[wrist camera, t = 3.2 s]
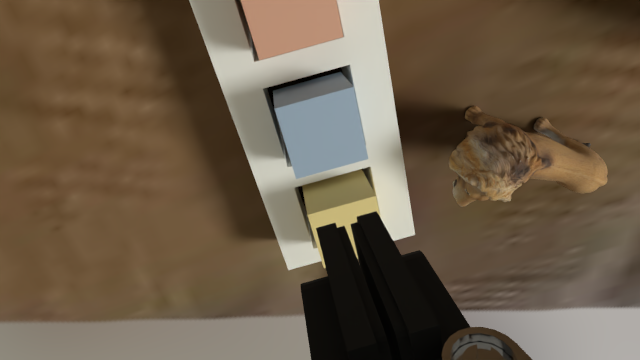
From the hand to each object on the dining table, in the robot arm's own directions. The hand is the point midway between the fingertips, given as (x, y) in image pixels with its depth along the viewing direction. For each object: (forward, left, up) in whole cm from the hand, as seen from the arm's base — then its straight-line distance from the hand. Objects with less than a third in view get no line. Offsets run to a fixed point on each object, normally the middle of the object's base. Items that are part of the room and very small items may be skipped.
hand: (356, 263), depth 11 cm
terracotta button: (-6, +1, -16) cm, 17 cm away
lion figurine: (+8, +14, -19) cm, 26 cm away
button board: (+1, +1, -19) cm, 19 cm away
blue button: (+1, +1, -16) cm, 16 cm away
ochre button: (+8, +1, -16) cm, 18 cm away
